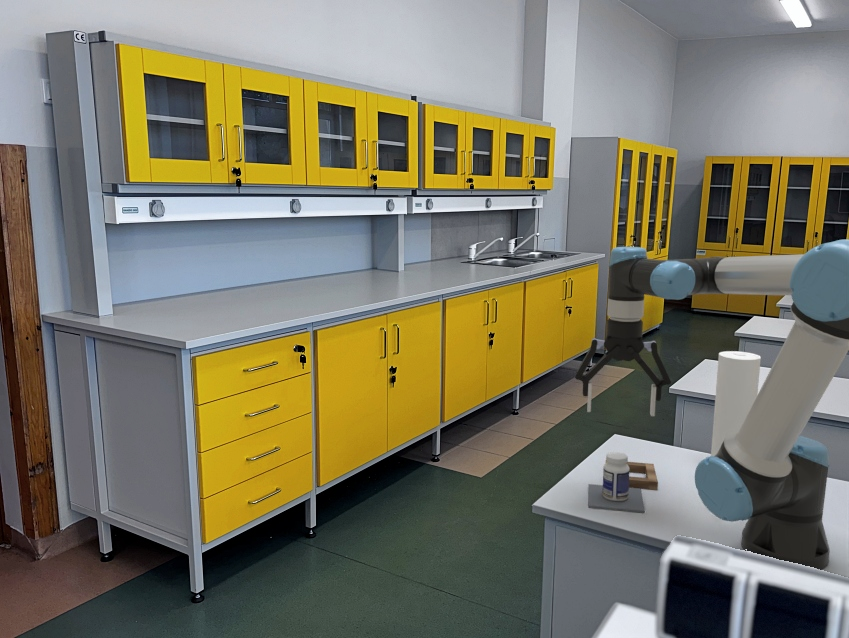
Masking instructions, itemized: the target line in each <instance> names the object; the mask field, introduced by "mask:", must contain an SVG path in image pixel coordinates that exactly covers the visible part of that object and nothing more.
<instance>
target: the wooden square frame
mask: <svg viewBox="0 0 849 638" xmlns="http://www.w3.org/2000/svg"><path fill="white" fill-rule="evenodd" d="M606 462H607V460H606V459H605V463H606ZM626 464H627V465H628V466H629V469H630V471H629V473H633V474H643V473H644V475H645V474H646V475H645V477H641V476H639V477H638V476H630V475H629V488H638V489H641V490H652V491H658V490H659V489H658V487H659V481H658V477H657V472H656V469H655V465H654V463H650V462H649V463H647V462H645V463H644V462H636V461H628V462H627V463H626Z"/></svg>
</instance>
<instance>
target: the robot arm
mask: <svg viewBox="0 0 849 638" xmlns="http://www.w3.org/2000/svg"><path fill="white" fill-rule="evenodd" d="M647 254H648V252H647V249H646V248H644V247H639V246H638V247H637V246H617V247H614V248H612V250H611V251H610V258H609V265H608V268H609V269H608V270H609V271H608V273H609V274H608V292H607V294H608V295H607V296H608V297H607V298H608V299H607V314H606V315H607V317H608V319H607V320H606V333H605V335H606V337H605V339H597V338H596V337H593V338H592V339H591V342H590V348H589V350H588V351H587V353H586V355H585V356H584V358H583V360H582V362H581V363H580V365H579V366H578V369H577V370H576V372H575V373H574V374H575V375H574V379H575V380H577V381H581V382H582V396H583V397H587V407H586V408H587V409H586V410H587V411H586V412H587V413H590V412H592V394H593V393H592V391H593V388H592V387H593V381H592V380H593V378H594V377H595V376H596V375H597V374H598V373H599V372H600V370H602V369H603V368H604V367H605V366H606V365H607V364H608V363H609V362H610V361H611V360H612V359H613V360H614V361H617V362H620V361H625V362H631V361H634V360H635V362H637V364H638V365H639V366H640V367H641V368H642V370H643V371H644V372H645V374H646V375H647V376H648V378H649V379H650V380H652V382H653V383H652V384H651V387H650V389H651V390H650V391H651V392H650V407H649V408H650V409H649V414H650V417H655V416H656V402H657V401H659V402H660V401H661V400H662V389H663V386H664V387H665V386H666V385H667V386H668V385H671V383H672V381H671V378H670V376H669V374H668V373H667V370H666V368H665V364H664V363H663V361H662V359H661V357H660V354H659V353H658V345H657V342H656V340H655V339H652V340H650V341H643V327H644V326H643V325H644V321H643V320H642V319H643V318H644V312H645V311H644V310H645V295H646V296H652V297H656V298H661V299H664V300H676V301H679V300H683V299H685V298H686V297H688V296H693V295H711V294H714V295H715V294H716V295H755V296H756V295H757V296H758V295H759V296H760V295H761V296H763V295H765V296H790V297H791V299H792V301H793V302H792V304H791V306H790V308H789V309H790V313H791V314H792V317H793V319H794V323H793V325H792V327H791V329H790V331H789V333H788V334H787V337H786V339H785V341H784V343H783V344H782V347H781V348H780V350H779V353H778V354H777V356H776V358H775V361H774V362H773V363H772V366H771V367H770V369H769V372H768V374H767V376H766V377H765V380H764V382H763V383H762V386H761V388H760V390H758V394H757V397H756V399H755V401H754V403H753V405H752V407H751V409H750V411H749V413H748V415H747V417H746V419H745V420H744V422H743V424H742V426H741V428H740V430H739V431H735V432H731V433H729V434H728V435H727V436H726V437H725V439H724V441H723V443H722V445H721V447H720V449H719V451H718V453H717V454H716V455H715V456H711V455H710V456H707V457H705V458H703V459H702V460H701V461H700V462H699V463H698V464H697V466H696V468H695V472H694V485H695V489H696V490H697V494H698V496H699V499H700V501H701V502H702V503H703V505H704V506H705V508H706V509H707V510H708V511H709V512H710V513H712V515H714V516H715V517H717V518H719V519H720V520H721V521H726V522H738V521H746V520H747V521H746V523H745V525H744V527H743V529H742V532H741V539H740V540H741V546H743V547H742V548H743V550H744V549H747V551H751V552H753V553H757V554H761V555H765V556H769V557H773V558H776V559H779V560H784V561H789V562H793V563H798V564H802V565H805V566H810V567H814V568H817V569H818V570H821V569H824V568H826V566H827V565H828V564H829V561H830V560H829V559H830V551H831V550H830V546H829V542H828V538H827V535H826V531H825V530H826V529H825V527H824V523H823V515H824V506H825V498H826V489H827V481H828V472H829V468H830V464H829V457H830V453H829V450H828V448H827V447H826V446H825V445H824V444H823V443H821V442H819V441H817V440H815V439H813V438H809V437H805V436H803V435H801V434H802V432H803V431H804V428H805V427H806V426H807V424H808V422H809V421H810V418H811V417H812V415H813V414H814V411H815V410H816V408H817V407H818V404H819V402H820V401H821V399H822V398H823V396H824V394H825V392H826V391H827V389H828V387H829V386H830V384H831V382H832V381H833V378H834V376H835V374H837V371H838V370H839V368H840V366H841V364H842V363H843V362H844V361H843V360H844V359H845V357H846V355H847V354H848V352H849V239H839V240H838V239H837V240H835V241H831V242H825V243H822V244H819V245H816V246H815V247H812V248H811V249H810V250H808V251H807V252H806V253H804V254H778V255H775V254H774V255H772V254H771V255H752V256H751V255H750V256H749V255H748V256H728V257H723V256H710V257H701V258H683V259H681V258H680V259H679V258H677V259H656V258H655V259H654V258H653V259H652V258H648V255H647ZM601 347H604V349H605V350H606V353H604V354H603V356H602V357H601V358H600V359H599V360H598V361H597V362H596V363H595V364H594V365H593V366H592V367H591V368H590V369H589V370H588V371H587V373H585V371H586V369H587V368H588V366H589V364H591V363H590V362H591V361H592V359H593V357H594V356H595V353H596V352H597V350H601ZM644 348H646V350H647V352H649V353H651V355H652V357H653V359H654V362H655V364H656V366H657V368H658V371H659V373H660V374H661V377H662V378H659V376H657V374H656V373H655V372H654V370H653V369H652V368H651V367H650V366H649V364H648V363H647V362H646V360H645V359H644V358H643V357H642V356H641V352H642V350H644ZM584 373H585V374H584Z"/></svg>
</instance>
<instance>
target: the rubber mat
mask: <svg viewBox="0 0 849 638" xmlns="http://www.w3.org/2000/svg"><path fill="white" fill-rule="evenodd" d="M587 488H588V489H587V491H588V492H587V494H588V495H587V496H588V498H587V499H588V502H587V503H588V504H587V505H588V508H589V509H598V510H607V511H617V512H618V511H619V512H629V513H639V514H640V513H641V514H646V507H645V503H644V498H643V493H642V489H639V488H629V495H628V498H627V499H626V500H624V501H611V500H608V499H606V498H605V497H604V496H603V484H593V483H588V487H587Z"/></svg>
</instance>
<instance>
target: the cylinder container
mask: <svg viewBox="0 0 849 638" xmlns="http://www.w3.org/2000/svg"><path fill="white" fill-rule="evenodd" d="M761 358H762V357H761V356H760V355H759V354H756V353H752V352H748V351H747V352H745V351H736V350H734V351H733V350H731V351H730V350H726V351H724V350H723V351H720V352H719V353H718V359H717V373H716V374H717V375H716V384H715V385H716V386H715V399H714V411H713V413H714V414H713V422H712V423H713V426H712V436H711V437H712V438H711V448H710V449H711V451H710V456H715V455H716V454H717V453H718V451H719V449H720V447H721V445H722V443H723V441H724V439H725V437H726V436H727V435H728V434H729V433H731V432H735V431H739V430H740V428H741V426H742V424H743V422H744V420H745V419H746V417H747V415H748V413H749V411H750V409H751V407H752V405H753V403H754V401H755V399H756V397H757V395H758V393H759V383H760V381H759V380H760V371H761V370H760V369H761V361H762V360H761Z"/></svg>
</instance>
